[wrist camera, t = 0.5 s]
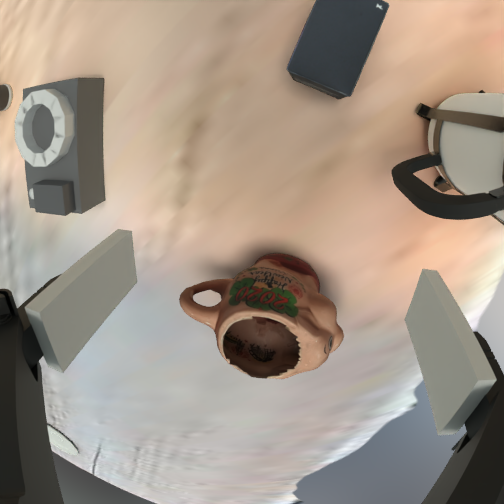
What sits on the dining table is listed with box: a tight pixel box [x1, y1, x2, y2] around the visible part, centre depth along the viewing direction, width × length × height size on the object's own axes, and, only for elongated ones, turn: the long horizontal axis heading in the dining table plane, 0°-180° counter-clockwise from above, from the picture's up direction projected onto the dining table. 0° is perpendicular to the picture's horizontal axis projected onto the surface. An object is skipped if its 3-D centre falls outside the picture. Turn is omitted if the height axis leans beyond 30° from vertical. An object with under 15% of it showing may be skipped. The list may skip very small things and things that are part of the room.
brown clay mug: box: [179, 254, 344, 379], centre depth 39 cm, size 20×12×14 cm, turn 82°
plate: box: [47, 425, 78, 455], centre depth 91 cm, size 21×21×2 cm
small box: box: [287, 0, 389, 99], centre depth 27 cm, size 11×6×10 cm, turn 159°
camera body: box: [15, 78, 105, 216], centre depth 37 cm, size 18×11×8 cm, turn 175°
